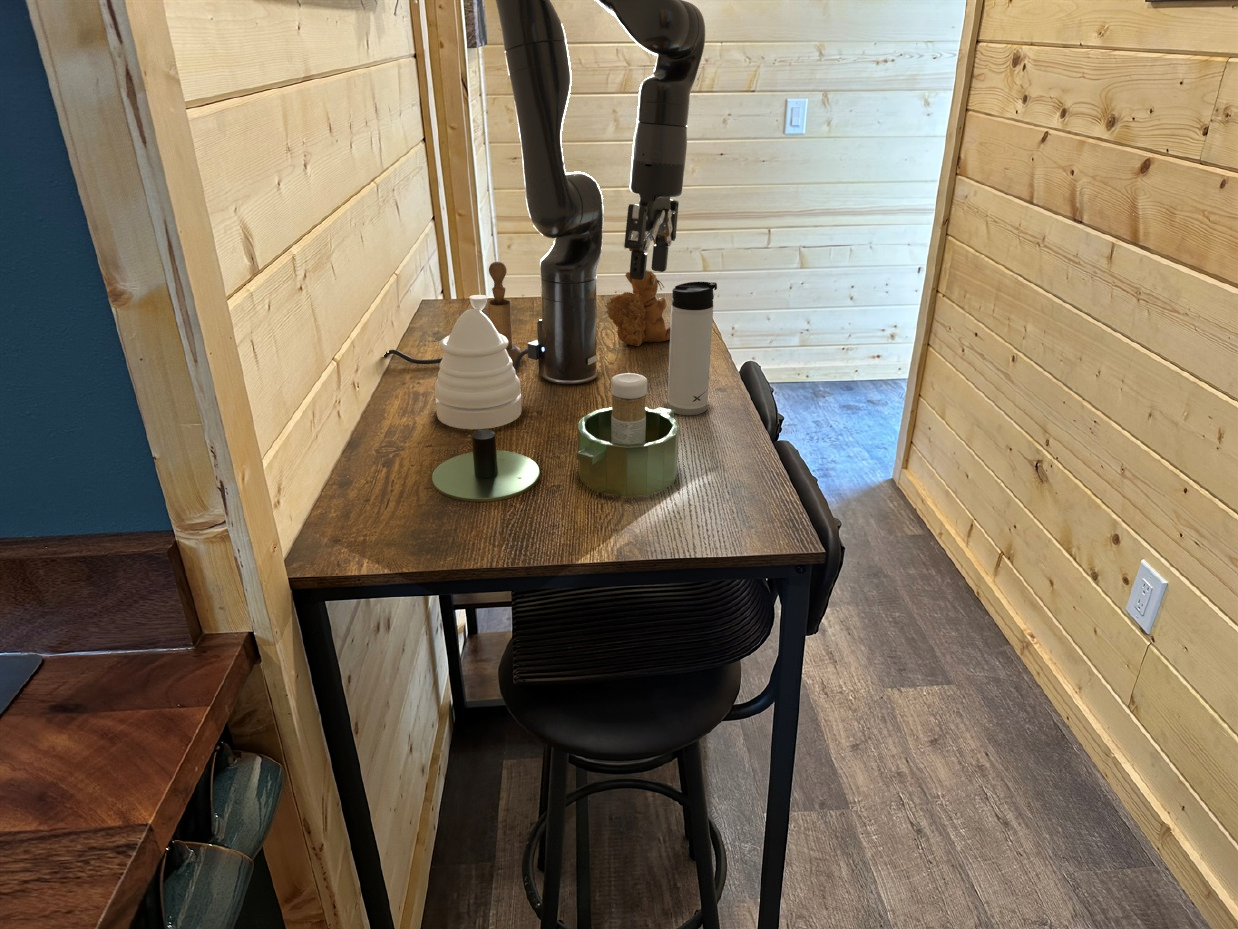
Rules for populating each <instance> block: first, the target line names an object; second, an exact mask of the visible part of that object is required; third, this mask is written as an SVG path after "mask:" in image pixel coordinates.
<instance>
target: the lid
mask: <svg viewBox="0 0 1238 929" xmlns="http://www.w3.org/2000/svg"><path fill="white" fill-rule="evenodd" d="M471 445H472V451H471V452H467V453H466V452H465V453H462V454H459V455H456V456H453V457H451V458H448V459H447V460H444V461H443V462H441V463H440V464H439V465H437V467H436V468H435V469H434V470H433V472H432V475H431V480H432V481H431V482H432V485H433V487H434V489H435V490H436V491H437V492H438V493H439V494H441V495H442V496H445V497H447V498H450V499H452V500H457V501H461V502H462V501H463V502H470V503H489V502H491V503H492V502H498V501H503V500H508V499H511V498H515V497H517V496H520V495H522V494H524V493H526V492H528V491H530V490H531V489H532V488H533V487H535V486H536V484H537V483H538V481H539V479H540V477H541V476H540V475H541V474H540V466H538V464H537V463H536V462H535V461H534V460H532V458H530V457H528V456H526V455H524V454H519V453H517V452H513V451H507V450H497V436H496V433H495V431H493V430H489V429H478V430H475V431H474V432H472V434H471Z"/></svg>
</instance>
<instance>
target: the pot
mask: <svg viewBox="0 0 1238 929" xmlns="http://www.w3.org/2000/svg"><path fill="white" fill-rule="evenodd" d="M645 415H646V433H645V443H643V444H618V443H611V417H612V406H611V407H605V408H602V409H601V408H600V409H597V410H594V411H592V412H590V413H588V414H586V415H584V416H582V417H581V419H580V420H579V422H578V423H577V452H576V460H577V473H578V477H579V480H580V482H581V483H583V484H584V485H585V486H586V487H588V489H590V490H593V491H595V492H599V493H602V494H605V495H609V496H617V497H624V498H625V497H626V498H627V497H628V498H629V497H644V496H648V495H652V494H656V493H660V492H662V491H665V490H666V489H667V488H669V487H670V486H672V485H674V483H675V481H676V479H677V476H678V463H679V462H678V461H679V442H680V440H679V439H680V426H679V424H678V422H677V420H676V419H675V413H674V411H672V410H669V409H668V408H665V407H661V406H659V407H657V408H655V409H652V408H649V407H645Z"/></svg>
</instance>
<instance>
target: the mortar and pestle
mask: <svg viewBox="0 0 1238 929" xmlns="http://www.w3.org/2000/svg"><path fill="white" fill-rule="evenodd" d="M507 270H508V269H507V266H506V265H505V264H504V262H502V261H493V262H492V263H491V264H490V265H489V267H488V274H489V275H490V277H491V279H492V281H493V287H492V288H491V291H492V295H493V298H494V299H491V300H489V301H487V303H488V318H489V320H490V321H491V322H492V324H493V325H494V327H495V329H496V330H497V332H498V334H501V335H503V336H505V337H506V338H507V340H508V346H507V348H506V351H507V353H508V355H509V357H510V358H511V360H512V362H513V363H512V365H514V364H515V362H516V359H517V356H518V355H519V354H520V353H521V348H519V346H517V345H516V344H514V343H513V324H512V322H513V321H512V302H511V300H509V299H505V295H506V287H504V284H503V282H504V279H505V278H506V275H507V273H508V272H507ZM521 362H522V360H521V361H520V363H521Z"/></svg>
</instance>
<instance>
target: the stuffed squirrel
mask: <svg viewBox="0 0 1238 929" xmlns="http://www.w3.org/2000/svg"><path fill="white" fill-rule="evenodd" d="M624 277H625V278H626V279H627V281H628V282H629V284H631V287H632V292H630V291H626V292H623V293H621V294H618V295H616V296H613V297H611V298H609V299H610V300H609V301H607V302H606V304H605V305H604V307H605V308H606V309H607V310H606V311H605V312H604V314H607V315H608V318H609V319H610V320H611V321H612V323H613V324H614V325H615V326H616V328H617V331H616V333H617V337H618V339H619V341H620V342H623V343H624V344H625V345H629V346H634V347H639V346H641V344H643V343H659V342H666V341H668V340H669V341H670V329H671V326H669V327H666V324H665V320H664V317H663V314H664V311H665V309H666V308H667V300H666V298H664V297H659V298H657V297H656V295H657V293H658V288H659V289H660V291H662V288H663V289H665V286H664V284H663V283H662V282H661V281H660V280H658V278H657V275H656V274H655V273H654V271H653V270H650V269H646V275H645V278H644V279H642V280H637V279H632V278H630V271H629V272H626V273H625V276H624Z"/></svg>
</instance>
